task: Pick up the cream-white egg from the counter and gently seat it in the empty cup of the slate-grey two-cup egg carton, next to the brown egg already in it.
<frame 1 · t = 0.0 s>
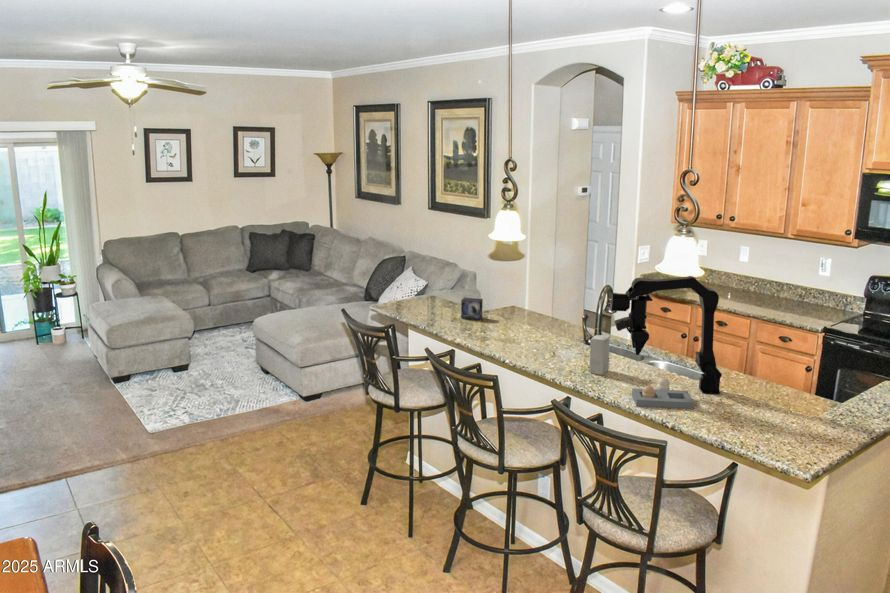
hand: (635, 351, 268), 15 cm above the worktop, tool pointing down, fingers open, 9 cm apart
small box: (471, 318, 377), on the worktop
egg carton: (661, 401, 257), on the worktop
skincare box: (598, 372, 290), on the worktop
egg: (662, 392, 266), on the worktop
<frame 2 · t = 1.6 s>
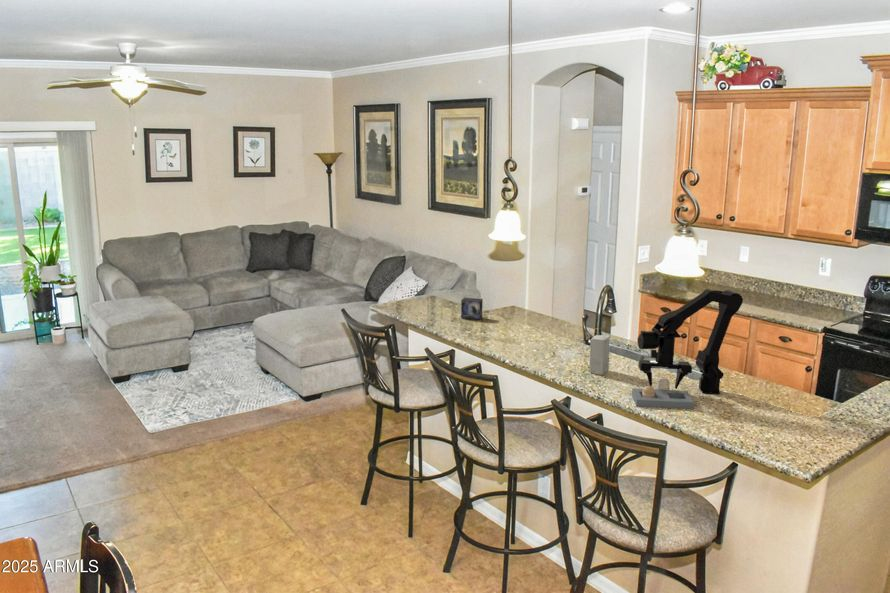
hand: (663, 387, 266), 2 cm above the worktop, tool pointing down, fingers open, 9 cm apart
nothing on the worktop moved.
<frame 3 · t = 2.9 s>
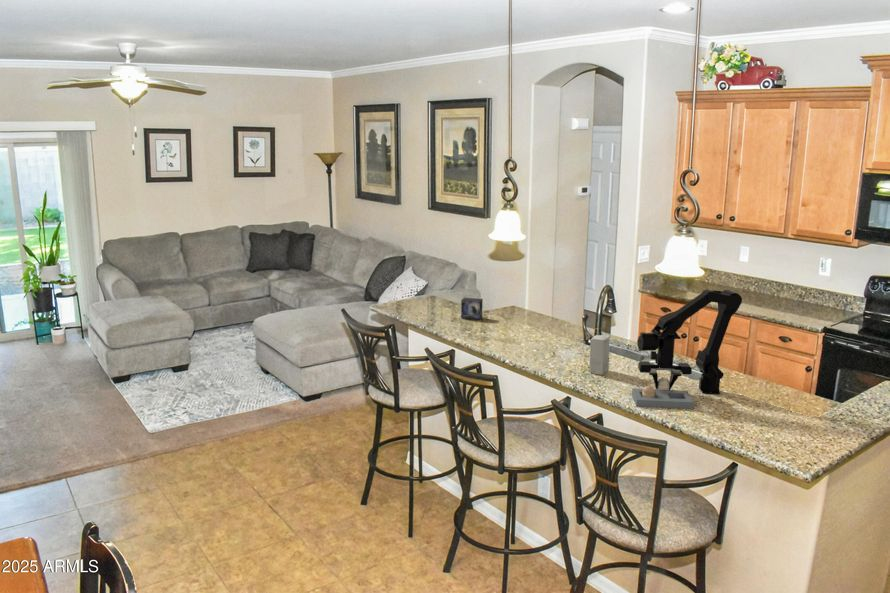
hand: (663, 389, 266), 1 cm above the worktop, tool pointing down, fingers closed on egg, 4 cm apart
egg: (662, 392, 266), on the worktop, touching gripper
everything else where it was.
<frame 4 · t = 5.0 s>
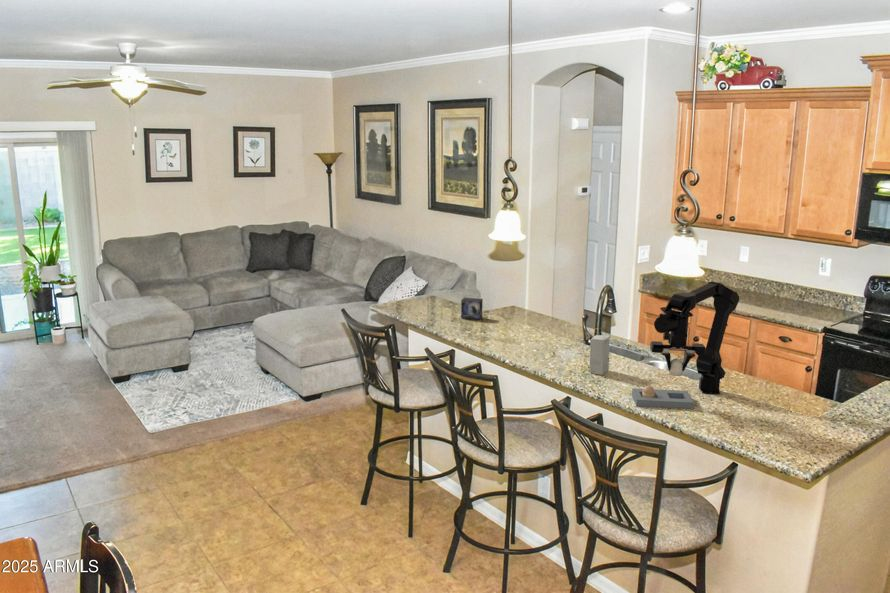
hand: (675, 370, 255), 12 cm above the worktop, tool pointing down, fingers closed on egg, 4 cm apart
egg: (675, 374, 255), point 10 cm above the worktop, touching gripper
everything else where it was.
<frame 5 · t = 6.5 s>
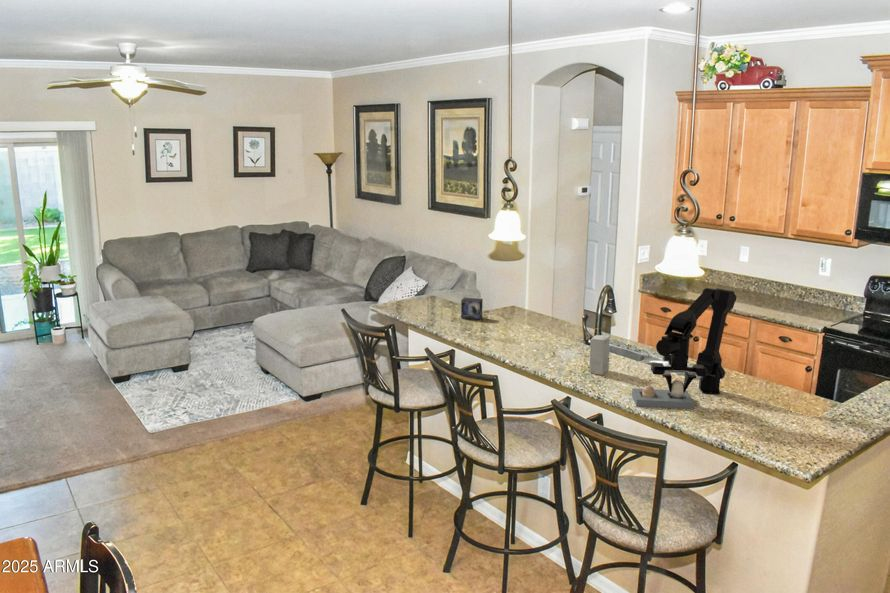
hand: (676, 392, 255), 4 cm above the worktop, tool pointing down, fingers closed on egg, 4 cm apart
egg: (676, 395, 255), point 3 cm above the worktop, touching gripper
everything else where it was.
when the fingers open (4 cm above the worktop, at t = 7.4 s): egg drops 2 cm, resting in egg carton.
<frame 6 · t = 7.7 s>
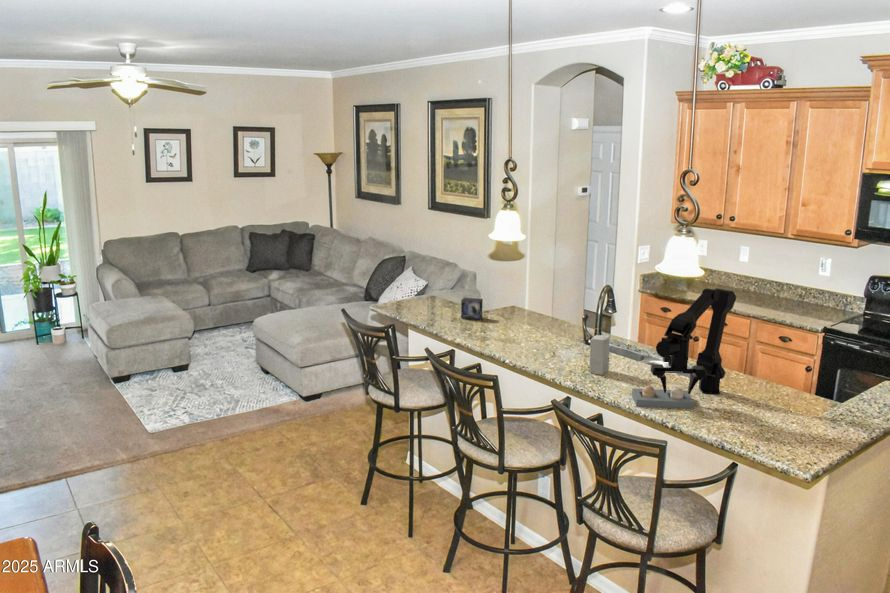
hand: (676, 393, 255), 4 cm above the worktop, tool pointing down, fingers open, 8 cm apart
egg: (676, 402, 256), resting in egg carton
everything else where it was.
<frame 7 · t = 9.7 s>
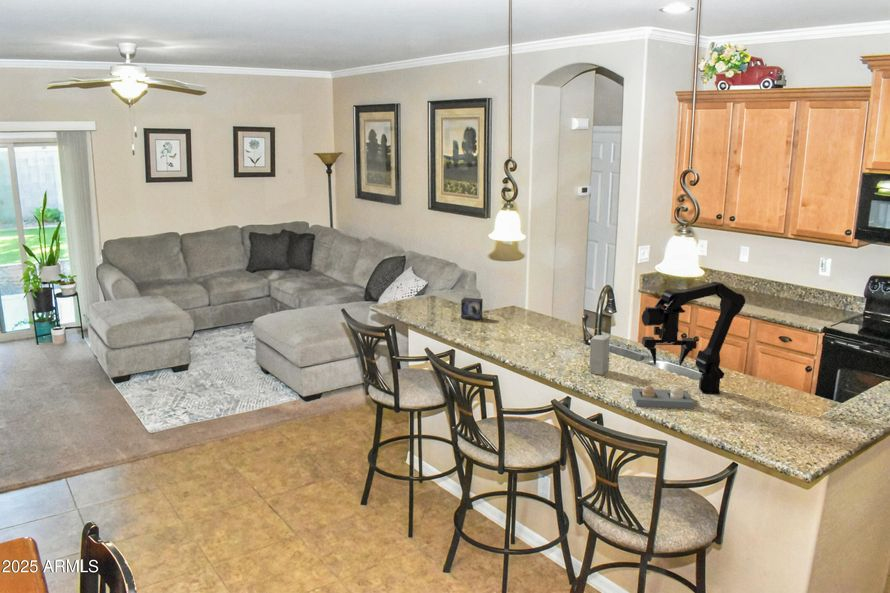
hand: (667, 364, 261), 12 cm above the worktop, tool pointing down, fingers open, 9 cm apart
nothing on the worktop moved.
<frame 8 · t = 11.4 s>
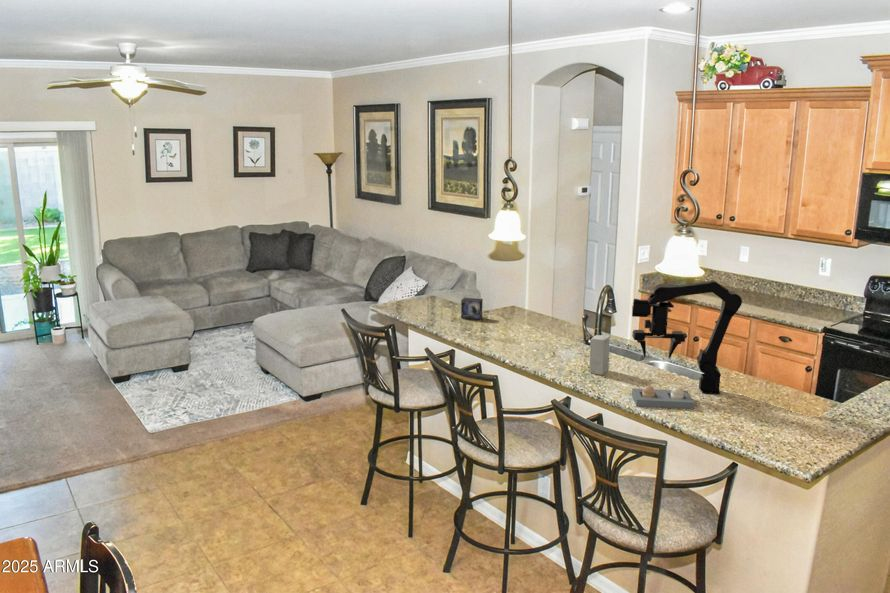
hand: (656, 357, 269), 12 cm above the worktop, tool pointing down, fingers open, 9 cm apart
nothing on the worktop moved.
at the end: egg 0.1 cm from the target spot on the egg carton, point 0.0 cm above the egg carton's base; egg tilted 2°; the gripper is holding nothing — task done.
